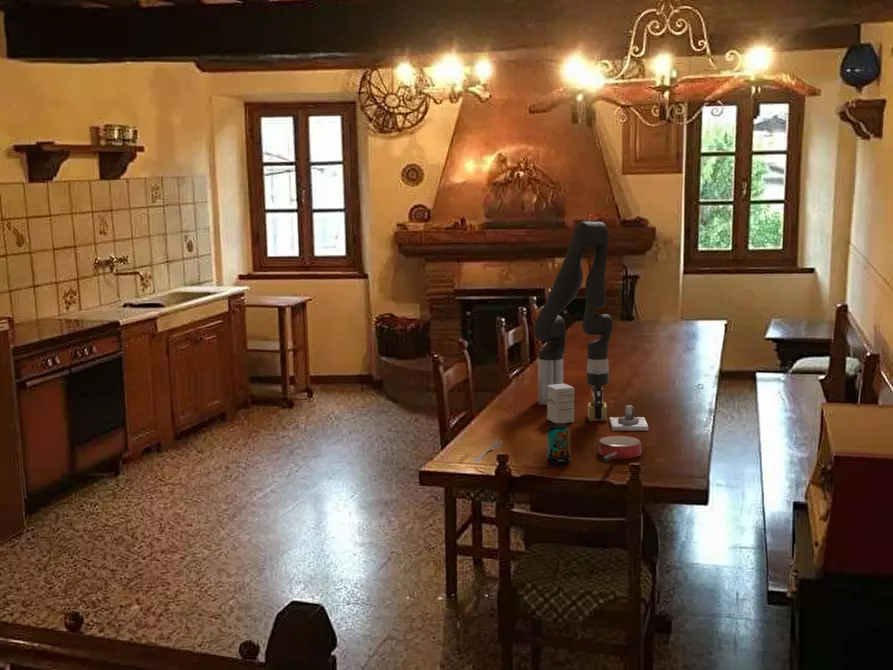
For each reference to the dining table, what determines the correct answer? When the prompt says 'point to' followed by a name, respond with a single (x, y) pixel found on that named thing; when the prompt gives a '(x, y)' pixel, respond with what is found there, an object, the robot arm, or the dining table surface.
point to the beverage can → (558, 444)
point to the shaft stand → (628, 421)
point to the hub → (592, 412)
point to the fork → (487, 451)
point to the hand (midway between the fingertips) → (597, 415)
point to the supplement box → (560, 403)
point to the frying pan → (619, 447)
